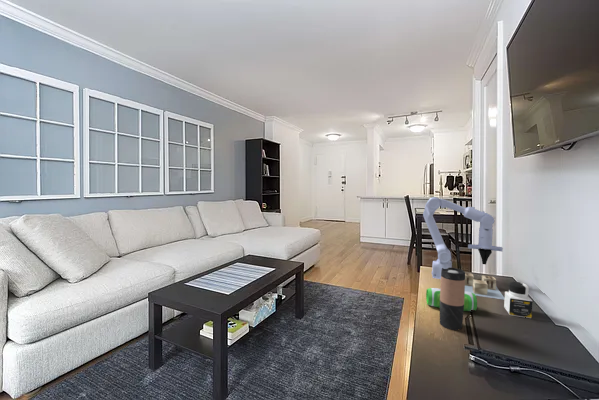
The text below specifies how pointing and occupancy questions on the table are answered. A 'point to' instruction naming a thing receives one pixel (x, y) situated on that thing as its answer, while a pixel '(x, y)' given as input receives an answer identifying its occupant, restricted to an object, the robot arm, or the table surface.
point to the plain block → (480, 287)
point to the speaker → (434, 299)
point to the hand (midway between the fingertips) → (484, 263)
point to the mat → (490, 293)
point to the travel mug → (452, 298)
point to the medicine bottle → (518, 300)
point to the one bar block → (469, 279)
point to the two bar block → (490, 282)
